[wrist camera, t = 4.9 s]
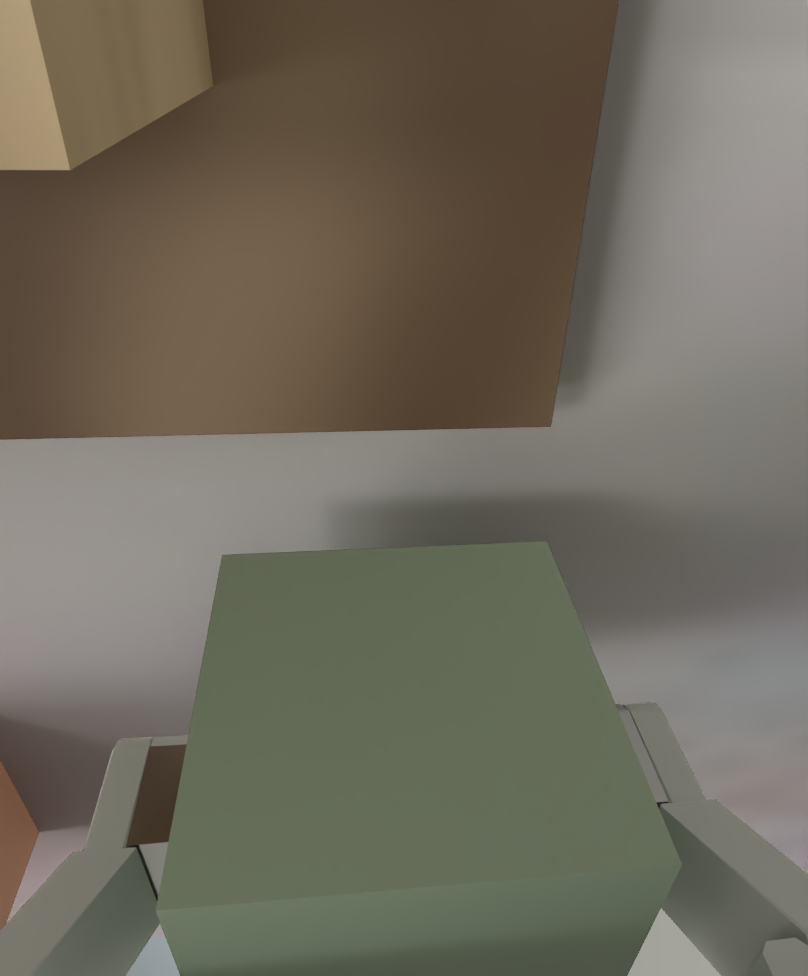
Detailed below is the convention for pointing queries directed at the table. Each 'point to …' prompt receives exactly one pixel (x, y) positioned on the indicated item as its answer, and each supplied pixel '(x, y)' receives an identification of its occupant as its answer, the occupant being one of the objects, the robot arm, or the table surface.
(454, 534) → the table surface
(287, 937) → the sage block
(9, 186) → the walnut board
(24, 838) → the terracotta block
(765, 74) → the table surface
